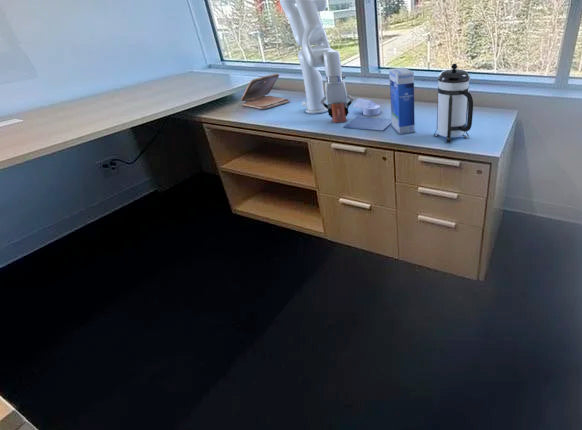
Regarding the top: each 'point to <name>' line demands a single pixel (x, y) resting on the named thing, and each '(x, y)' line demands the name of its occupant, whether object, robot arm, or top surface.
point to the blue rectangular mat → (369, 123)
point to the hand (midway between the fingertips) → (338, 115)
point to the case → (262, 93)
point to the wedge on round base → (367, 107)
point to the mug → (338, 112)
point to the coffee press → (454, 103)
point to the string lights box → (402, 99)
